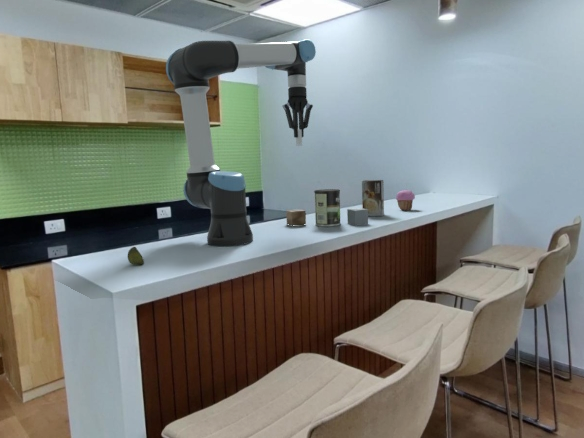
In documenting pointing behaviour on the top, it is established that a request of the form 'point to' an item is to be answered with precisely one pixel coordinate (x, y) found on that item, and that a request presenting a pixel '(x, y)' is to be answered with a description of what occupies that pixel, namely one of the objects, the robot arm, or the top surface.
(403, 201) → the cupcake
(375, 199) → the coffee box
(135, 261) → the lime
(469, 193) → the top surface
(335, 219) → the coffee can
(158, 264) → the top surface
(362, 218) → the slate block
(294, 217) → the walnut block
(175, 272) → the top surface
